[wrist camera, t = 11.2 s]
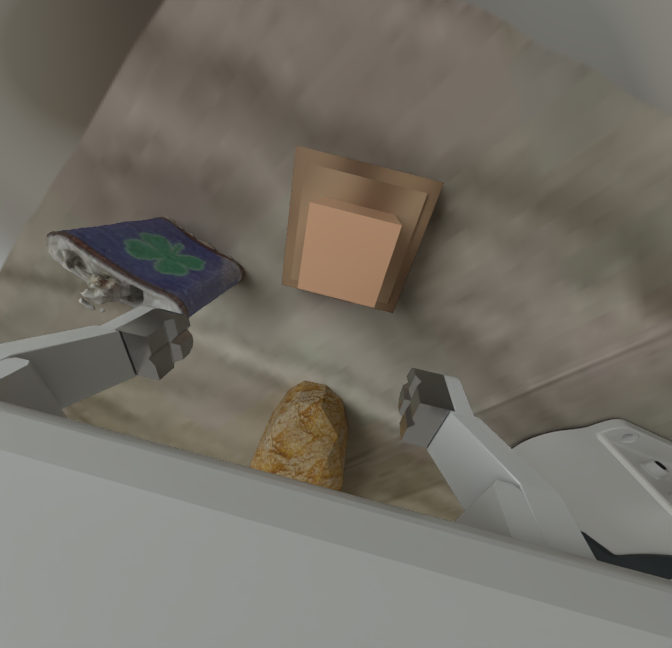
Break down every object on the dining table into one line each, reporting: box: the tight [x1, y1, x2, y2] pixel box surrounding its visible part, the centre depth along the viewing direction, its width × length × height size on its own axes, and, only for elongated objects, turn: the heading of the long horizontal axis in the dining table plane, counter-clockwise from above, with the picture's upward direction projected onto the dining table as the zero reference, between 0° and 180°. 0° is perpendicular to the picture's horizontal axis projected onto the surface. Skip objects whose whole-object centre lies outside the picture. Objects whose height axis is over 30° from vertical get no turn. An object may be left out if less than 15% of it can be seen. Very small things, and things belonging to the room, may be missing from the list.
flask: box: [46, 217, 243, 318], centre depth 19 cm, size 9×3×11 cm, turn 57°
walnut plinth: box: [282, 146, 444, 313], centre depth 19 cm, size 10×10×3 cm
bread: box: [250, 381, 348, 492], centre depth 35 cm, size 36×11×10 cm, turn 173°
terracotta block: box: [298, 197, 402, 308], centre depth 16 cm, size 5×5×5 cm
